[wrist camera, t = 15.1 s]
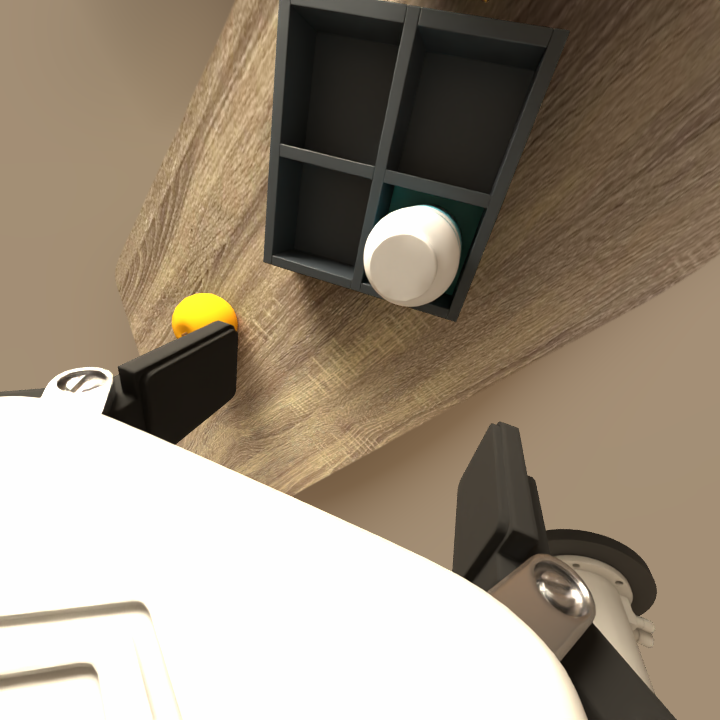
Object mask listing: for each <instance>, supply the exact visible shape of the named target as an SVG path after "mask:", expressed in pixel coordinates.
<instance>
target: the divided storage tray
mask: <svg viewBox="0 0 720 720" xmlns="http://www.w3.org/2000/svg"><path fill="white" fill-rule="evenodd" d="M569 33H570V30H565V29H558V28H550V27H544V26H538V25H531V24H525V23H519V22H512V21H506V20H500V19H494V18H487V17H481V16H475V15H468V14H462V13H456V12H449V11H443V10H437V9H431V8H424V7H422V8H421V7H418V6H412V5H407V4H400V3H394V2H388V1H381V0H279V11H278V27H277V44H276V60H275V77H274V94H273V110H272V127H271V143H270V160H269V177H268V193H267V210H266V226H265V243H264V260H263V262H265V263H268V264H272V265H274V266H278V267H281V268H284V269H287V270H290V271H294V272H297V273H300V274H303V275H307V276H310V277H313V278H316V279H319V280H323V281H326V282H329V283H332V284H335V285H339V286H342V287H345V288H348V289H352V290H355V291H358V292H361V293H364V294H368V295H371V296H374V297H377V298H380V299H384V298H383V297H381V296H380V295H379V294H378V293H377V292H376V291H375V290H374V288H373V287H372V286H371V284H370V282H369V280H368V278H367V276H366V272H365V268H364V249H365V245H366V242H367V239H368V237H369V235H370V233H371V231H372V230H373V228H374V227H375V226H376V224H377V223H378V222H379V221H380V220H381V219H383V218H384V217H385V216H387V215H389V214H390V213H392V212H394V211H397V210H399V209H403V208H407V207H412V206H416V205H422V204H432V205H437V206H439V207H442V208H444V209H445V210H447V211H448V212H449V213H450V214H451V215H452V216H453V217H454V218H455V220H456V221H457V223H458V225H459V227H460V230H461V235H462V247H461V254H460V260H459V266H458V270H457V273H456V275H455V278H454V280H453V281H452V283H451V285H450V286H449V287H448V289H447V290H446V291H445V292H444V293H443V294H442V295H441V296H439V297H438V298H437V299H435V300H433V301H431V302H429V303H427V304H424V305H421V306H415V307H409V308H413V309H416V310H419V311H422V312H425V313H429V314H432V315H435V316H438V317H441V318H445V319H448V320H451V321H454V322H456V321H457V319H458V316H459V313H460V311H461V308H462V306H463V303H464V301H465V298H466V296H467V293H468V291H469V288H470V285H471V283H472V280H473V278H474V275H475V273H476V270H477V268H478V265H479V262H480V260H481V257H482V255H483V252H484V250H485V247H486V245H487V242H488V239H489V237H490V234H491V232H492V229H493V227H494V224H495V222H496V219H497V216H498V214H499V211H500V209H501V206H502V204H503V201H504V199H505V196H506V193H507V191H508V188H509V186H510V183H511V181H512V178H513V176H514V173H515V170H516V168H517V165H518V163H519V160H520V158H521V155H522V153H523V150H524V148H525V145H526V142H527V140H528V137H529V135H530V132H531V130H532V127H533V125H534V122H535V119H536V117H537V114H538V112H539V109H540V107H541V104H542V102H543V99H544V96H545V94H546V91H547V89H548V86H549V84H550V81H551V79H552V76H553V73H554V71H555V68H556V66H557V63H558V61H559V58H560V56H561V53H562V50H563V48H564V45H565V43H566V40H567V38H568V35H569ZM384 300H385V299H384Z"/></svg>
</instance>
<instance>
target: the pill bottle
mask: <svg viewBox="0 0 720 720" xmlns="http://www.w3.org/2000/svg"><path fill="white" fill-rule="evenodd" d="M461 247H462V235H461V230H460V227H459V225H458V223H457V221H456V220H455V218H454V217H453V216H452V215H451V214H450V213H449V212H448V211H447V210H445V209H444V208H442V207H439V206H437V205H432V204H422V205H416V206H412V207H407V208H403V209H399V210H397V211H394V212H392V213H390V214H389V215H387V216H385V217H384V218H383V219H381V220H380V221H379V222H378V223H377V224H376V226H375V227H374V228H373V230H372V231H371V233H370V235H369V237H368V239H367V242H366V245H365V249H364V268H365V272H366V276H367V278H368V280H369V282H370V284H371V286H372V287H373V288H374V290H375V291H376V292H377V293H378V294H379V295H380V296H381V297H383V298H384V299H385V300H387V301H389V302H391V303H393V304H396V305H400V306H406V307H415V306H421V305H424V304H427V303H429V302H431V301H433V300H435V299H437V298H438V297H439V296H441V295H442V294H443V293H444V292H445V291H446V290H447V289H448V287H449V286H450V285H451V283H452V281H453V280H454V278H455V275H456V273H457V270H458V266H459V260H460V254H461Z"/></svg>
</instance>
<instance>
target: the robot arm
mask: <svg viewBox="0 0 720 720" xmlns="http://www.w3.org/2000/svg"><path fill="white" fill-rule="evenodd" d="M237 351H238V332H237V331H236V330H235V328H234V326H233V325H231V324H228V323H225V322H222V321H219V320H217V321H215V322H212V323H210V324H208V325H206V326H204V327H202V328H200V329H197V330H195V331H193V332H191V333H189V334H187V335H185V336H182V337H180V338H178V339H176V340H174V341H172V342H170V343H167V344H165V345H163V346H161V347H159V348H157V349H155V350H152V351H150V352H148V353H146V354H144V355H142V356H140V357H137V358H135V359H133V360H131V361H129V362H127V363H125V364H122V365H120V366H118V371H119V375H117V376H115V377H113V375H112V373H111V372H110V371H108V370H106V369H102V368H98V367H97V368H96V367H84V368H77V369H72V370H69V371H66V372H63V373H61V374H59V375H57V376H56V377H54V378H53V379H52V380H51V381H50V383H49V384H48V386H47V388H43V389H31V390H19V391H6V392H0V720H676V719H675V717H674V716H673V715H672V714H671V713H670V712H669V710H668V709H667V708H666V707H665V706H664V705H663V703H662V702H661V701H660V700H659V699H658V698H657V697H656V695H655V692H654V690H653V687H652V684H651V681H650V679H649V676H648V673H647V670H646V667H645V665H644V662H643V659H642V656H641V654H640V651H639V648H638V645H637V643H639V644H641V645H643V646H646V647H648V648H651V647H652V646H653V644H654V639H653V636H652V634H651V633H653V632H654V631H655V627H654V624H653V622H651V621H649V620H647V619H644V618H642V617H638V616H636V615H635V614H634V613H633V611H632V608H631V606H630V605H631V603H632V600H633V594H632V591H631V588H630V585H629V583H628V581H627V579H626V578H625V577H624V576H623V575H622V574H621V573H620V572H619V571H617V570H616V569H615V568H613V567H611V566H610V565H608V564H606V563H603V562H601V561H598V560H596V559H592V558H588V557H584V556H577V555H557V556H551V554H550V549H549V544H548V539H547V535H546V530H545V525H544V521H543V516H542V510H541V506H540V501H539V496H538V491H537V486H536V482H535V480H534V479H533V478H532V477H530V476H528V475H527V471H526V466H525V460H524V455H523V449H522V444H521V438H520V433H519V429H518V428H516V427H514V426H511V425H508V424H506V423H502V422H498V424H497V425H495V424H491V425H490V426H489V428H488V430H487V432H486V434H485V435H484V437H483V439H482V441H481V443H480V445H479V446H478V448H477V450H476V452H475V454H474V456H473V457H472V459H471V461H470V463H469V465H468V467H467V469H466V471H465V472H464V474H463V476H462V478H461V480H460V483H459V486H458V494H457V509H456V526H455V540H454V555H453V570H452V571H449V570H448V569H446V568H444V567H442V566H440V565H438V564H436V563H434V562H432V561H430V560H428V559H426V558H424V557H422V556H420V555H417V554H415V553H413V552H411V551H409V550H407V549H405V548H403V547H401V546H398V545H396V544H394V543H392V542H390V541H388V540H385V539H383V538H381V537H379V536H377V535H375V534H373V533H370V532H368V531H366V530H364V529H362V528H359V527H357V526H355V525H353V524H350V523H348V522H346V521H344V520H342V519H340V518H337V517H335V516H333V515H330V514H328V513H326V512H324V511H322V510H320V509H318V508H315V507H313V506H311V505H309V504H306V503H304V502H302V501H300V500H298V499H295V498H293V497H291V496H289V495H286V494H284V493H282V492H280V491H277V490H275V489H273V488H271V487H269V486H266V485H264V484H262V483H260V482H257V481H255V480H253V479H251V478H248V477H246V476H244V475H242V474H239V473H237V472H235V471H233V470H230V469H228V468H226V467H224V466H221V465H219V464H217V463H215V462H212V461H210V460H208V459H206V458H203V457H201V456H199V455H196V454H194V453H192V452H190V451H187V450H185V449H183V448H180V447H178V446H176V445H175V444H177V443H178V442H179V441H180V440H182V439H183V438H184V437H185V436H186V435H188V434H189V433H190V432H191V431H193V430H194V429H195V428H196V427H198V426H199V425H200V424H201V423H202V422H204V421H205V420H206V419H207V418H209V417H210V416H211V415H212V414H214V413H215V412H216V411H217V410H218V409H220V408H221V407H222V406H223V405H225V404H226V403H227V402H228V401H229V400H231V399H232V398H233V396H234V395H235V392H236V380H237Z"/></svg>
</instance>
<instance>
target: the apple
mask: <svg viewBox="0 0 720 720" xmlns="http://www.w3.org/2000/svg"><path fill="white" fill-rule="evenodd" d="M217 320H219V321H222V322H225V323H228V324H231V325H233V326H234V328H235V330H236V331H237V327H238V322H237V317H236V314H235V312H234V310H233V309H232V307H231V306H230V305H229V304H228V303H227V302H226V301H225V300H224V299H222V298H220V297H218V296H215V295H213V294H204V293H200V294H196V295H193V296H189V297H187V298H185V299H184V300H183V301H182V302H181V303H180V304H179V305H178V306H177V307H176V309H175V311H174V314H173V316H172V327H173V331H174V334H175V336H176V338H177V339H178V338H180V337H182V336H185V335H187V334H189V333H191V332H193V331H195V330H197V329H200V328H202V327H204V326H206V325H208V324H210V323H212V322H215V321H217Z"/></svg>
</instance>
